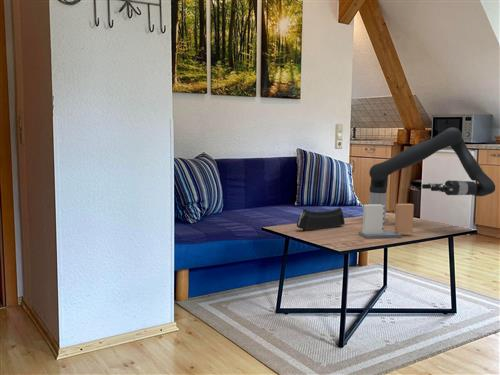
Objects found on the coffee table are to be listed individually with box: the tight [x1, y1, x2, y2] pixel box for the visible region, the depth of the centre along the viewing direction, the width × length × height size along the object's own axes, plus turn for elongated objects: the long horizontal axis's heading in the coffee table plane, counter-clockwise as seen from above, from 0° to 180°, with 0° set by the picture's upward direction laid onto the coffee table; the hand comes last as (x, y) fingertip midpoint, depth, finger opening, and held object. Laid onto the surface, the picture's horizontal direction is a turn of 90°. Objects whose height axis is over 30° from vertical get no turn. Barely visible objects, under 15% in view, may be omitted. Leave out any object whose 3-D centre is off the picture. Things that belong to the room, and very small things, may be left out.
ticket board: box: [357, 204, 402, 240], centre depth 247 cm, size 10×18×16 cm, turn 101°
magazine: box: [296, 206, 345, 232], centre depth 263 cm, size 17×3×30 cm
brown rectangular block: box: [394, 203, 415, 234], centre depth 249 cm, size 3×8×14 cm, turn 101°
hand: (426, 187), depth 253 cm, fingers open, 8 cm apart
